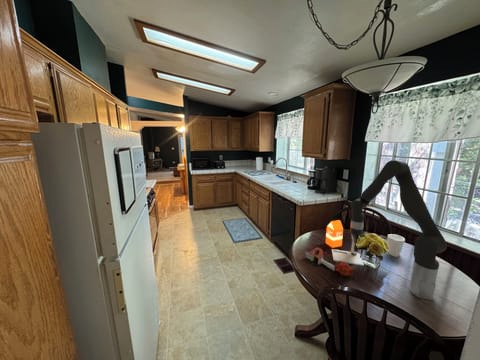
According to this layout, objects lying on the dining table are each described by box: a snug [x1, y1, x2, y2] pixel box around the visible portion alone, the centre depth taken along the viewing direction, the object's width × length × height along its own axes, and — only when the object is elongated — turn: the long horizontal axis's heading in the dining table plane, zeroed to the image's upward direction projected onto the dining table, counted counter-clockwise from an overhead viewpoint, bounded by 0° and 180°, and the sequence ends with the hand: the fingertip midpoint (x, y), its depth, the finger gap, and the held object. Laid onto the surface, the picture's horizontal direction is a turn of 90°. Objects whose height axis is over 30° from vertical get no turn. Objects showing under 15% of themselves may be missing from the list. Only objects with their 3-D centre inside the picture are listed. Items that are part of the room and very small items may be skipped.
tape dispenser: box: [305, 246, 336, 272], centre depth 133 cm, size 18×5×20 cm
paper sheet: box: [331, 248, 365, 267], centre depth 137 cm, size 14×18×1 cm
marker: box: [350, 238, 358, 256], centre depth 138 cm, size 4×4×12 cm
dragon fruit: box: [333, 261, 356, 277], centre depth 120 cm, size 8×8×12 cm
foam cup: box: [387, 233, 406, 258], centre depth 139 cm, size 10×9×13 cm
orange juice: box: [325, 219, 344, 249], centre depth 152 cm, size 8×9×20 cm
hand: (354, 248), depth 138 cm, fingers open, 8 cm apart
